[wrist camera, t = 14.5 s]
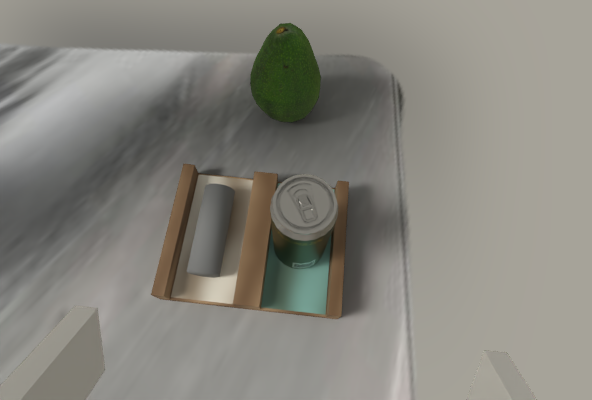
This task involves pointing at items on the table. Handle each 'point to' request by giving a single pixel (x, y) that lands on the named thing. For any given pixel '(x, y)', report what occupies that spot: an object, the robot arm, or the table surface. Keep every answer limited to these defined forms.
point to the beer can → (302, 220)
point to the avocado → (286, 75)
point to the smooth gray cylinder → (211, 231)
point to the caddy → (249, 253)
